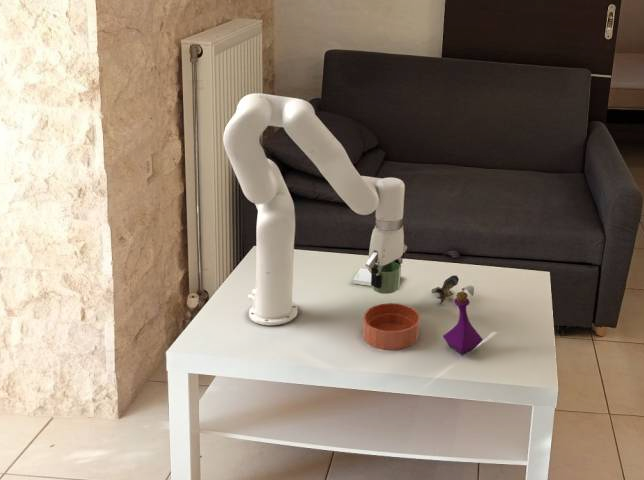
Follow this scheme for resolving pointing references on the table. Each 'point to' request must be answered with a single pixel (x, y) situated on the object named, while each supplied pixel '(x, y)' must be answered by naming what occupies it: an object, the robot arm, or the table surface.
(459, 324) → the perfume bottle
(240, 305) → the table surface
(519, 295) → the table surface
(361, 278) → the hard drive
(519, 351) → the table surface
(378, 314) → the terracotta bowl
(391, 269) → the green faceted cup
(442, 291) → the eagle figurine
